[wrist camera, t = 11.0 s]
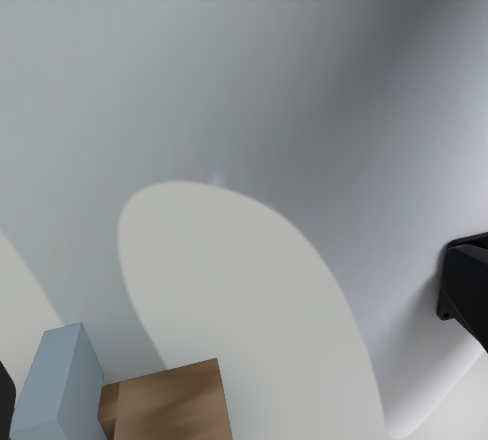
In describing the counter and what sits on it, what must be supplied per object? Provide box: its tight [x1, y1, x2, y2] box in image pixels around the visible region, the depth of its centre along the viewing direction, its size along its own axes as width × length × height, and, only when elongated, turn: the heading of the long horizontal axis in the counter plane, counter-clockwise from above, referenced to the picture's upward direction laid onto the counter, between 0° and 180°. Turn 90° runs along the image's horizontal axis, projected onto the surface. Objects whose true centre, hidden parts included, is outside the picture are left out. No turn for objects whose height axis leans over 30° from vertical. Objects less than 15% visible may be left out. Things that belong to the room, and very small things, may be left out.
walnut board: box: [9, 358, 232, 440], centre depth 22 cm, size 16×2×5 cm, turn 97°
